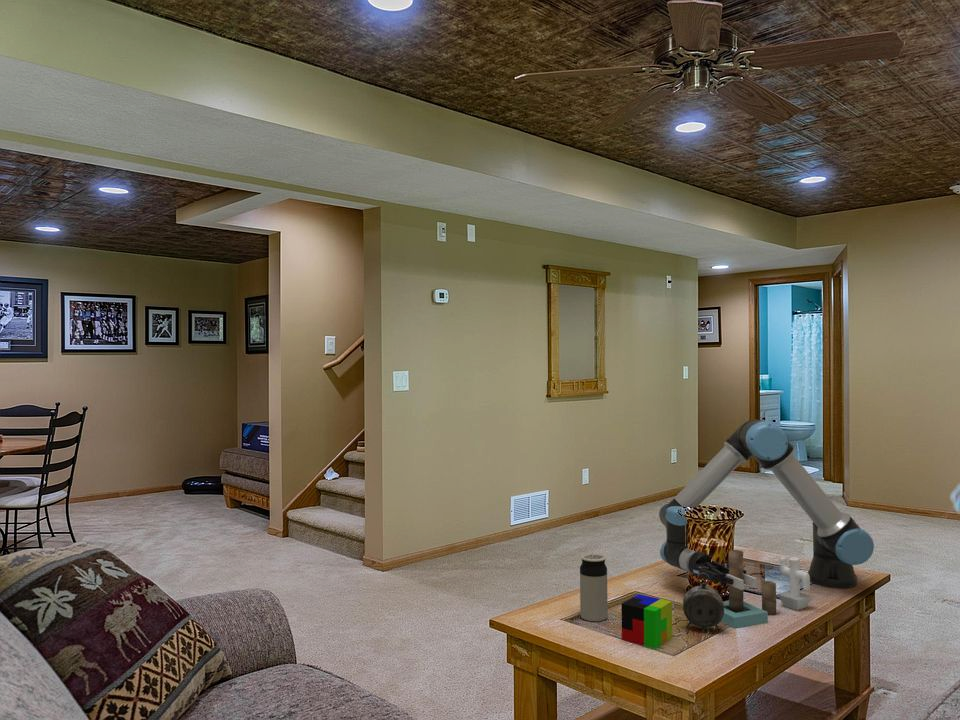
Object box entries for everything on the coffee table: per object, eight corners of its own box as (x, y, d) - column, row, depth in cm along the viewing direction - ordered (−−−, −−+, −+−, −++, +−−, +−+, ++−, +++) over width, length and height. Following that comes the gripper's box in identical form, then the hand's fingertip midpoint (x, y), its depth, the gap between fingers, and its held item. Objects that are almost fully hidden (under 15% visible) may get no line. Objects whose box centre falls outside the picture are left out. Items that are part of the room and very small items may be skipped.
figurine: (801, 613, 217) (801, 563, 217) (774, 604, 225) (773, 556, 225) (816, 609, 221) (815, 559, 221) (788, 600, 229) (788, 552, 229)
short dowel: (769, 610, 221) (769, 580, 221) (779, 614, 217) (779, 584, 217) (759, 611, 220) (758, 581, 220) (768, 616, 216) (768, 585, 216)
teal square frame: (739, 609, 222) (739, 599, 222) (767, 622, 211) (767, 612, 211) (706, 614, 217) (706, 604, 217) (734, 628, 206) (734, 617, 206)
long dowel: (737, 609, 217) (736, 549, 217) (746, 614, 213) (746, 552, 213) (726, 611, 215) (725, 550, 215) (735, 616, 212) (735, 554, 211)
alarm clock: (723, 628, 206) (723, 571, 206) (724, 635, 201) (724, 576, 201) (683, 625, 209) (682, 568, 209) (683, 632, 204) (682, 574, 204)
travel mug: (610, 621, 212) (609, 560, 212) (583, 622, 212) (582, 560, 212) (604, 612, 220) (603, 552, 220) (578, 613, 220) (577, 553, 220)
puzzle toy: (638, 629, 206) (638, 594, 206) (672, 637, 200) (671, 601, 200) (621, 640, 199) (621, 603, 199) (655, 649, 192) (655, 611, 192)
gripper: (719, 571, 234) (772, 593, 212) (674, 578, 228) (725, 600, 206) (718, 548, 234) (772, 567, 212) (674, 553, 228) (724, 574, 206)
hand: (749, 584), depth 209 cm, fingers closed on long dowel, 4 cm apart
